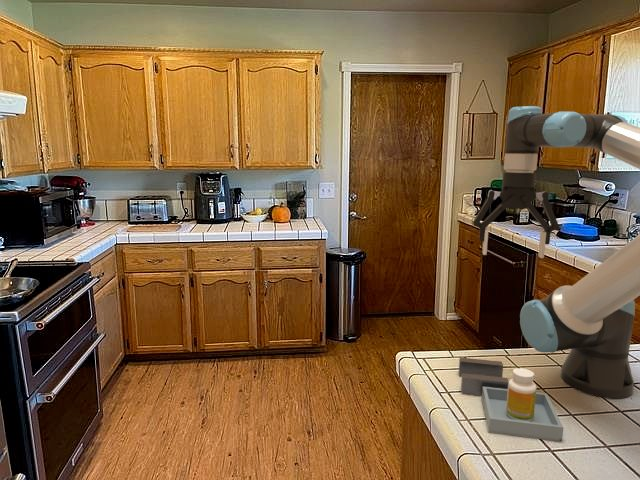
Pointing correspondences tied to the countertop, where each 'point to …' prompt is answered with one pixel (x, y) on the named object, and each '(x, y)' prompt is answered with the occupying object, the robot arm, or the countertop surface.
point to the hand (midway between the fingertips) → (512, 255)
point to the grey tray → (499, 422)
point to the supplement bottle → (521, 395)
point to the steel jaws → (480, 375)
